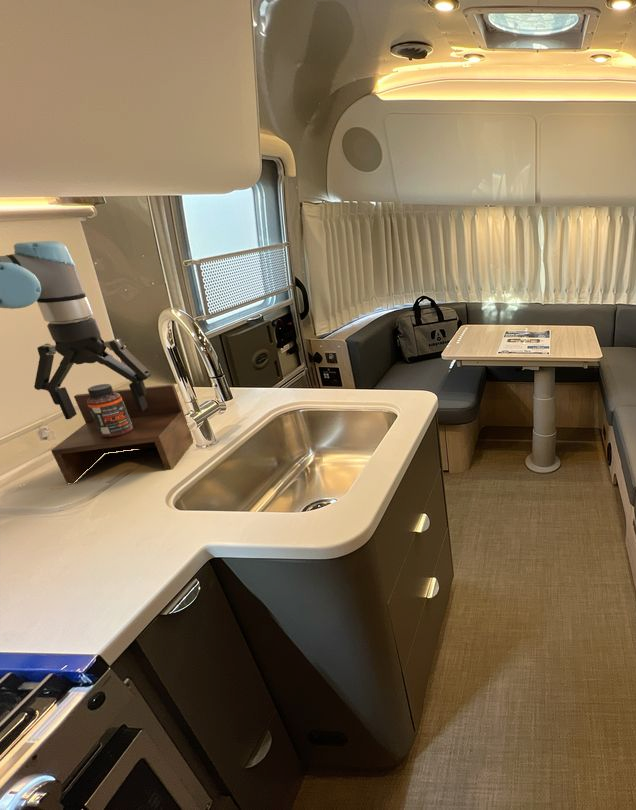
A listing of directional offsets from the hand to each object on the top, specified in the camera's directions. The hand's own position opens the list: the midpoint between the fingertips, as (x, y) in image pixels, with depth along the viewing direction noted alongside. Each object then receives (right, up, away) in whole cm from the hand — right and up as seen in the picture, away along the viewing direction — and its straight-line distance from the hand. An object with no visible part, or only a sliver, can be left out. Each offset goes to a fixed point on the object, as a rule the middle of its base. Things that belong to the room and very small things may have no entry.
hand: (108, 413), depth 108 cm
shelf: (0, -12, +7) cm, 14 cm away
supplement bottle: (0, -5, +2) cm, 5 cm away
